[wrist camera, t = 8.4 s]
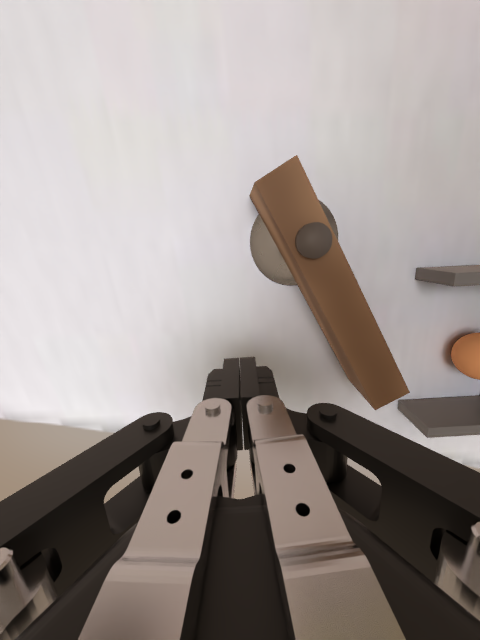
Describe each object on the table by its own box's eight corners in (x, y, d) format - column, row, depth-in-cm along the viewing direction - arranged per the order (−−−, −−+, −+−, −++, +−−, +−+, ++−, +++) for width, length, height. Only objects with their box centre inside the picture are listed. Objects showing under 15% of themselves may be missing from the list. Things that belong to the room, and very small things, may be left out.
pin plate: (339, 192, 18) (340, 191, 18) (334, 282, 19) (335, 283, 19) (248, 196, 18) (248, 195, 17) (251, 286, 19) (251, 287, 19)
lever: (282, 174, 17) (299, 150, 13) (376, 365, 21) (416, 397, 16) (249, 196, 17) (255, 179, 13) (349, 379, 21) (380, 415, 17)
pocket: (520, 262, 19) (580, 266, 16) (487, 403, 23) (531, 431, 19) (416, 267, 19) (455, 272, 16) (397, 408, 22) (426, 437, 19)
